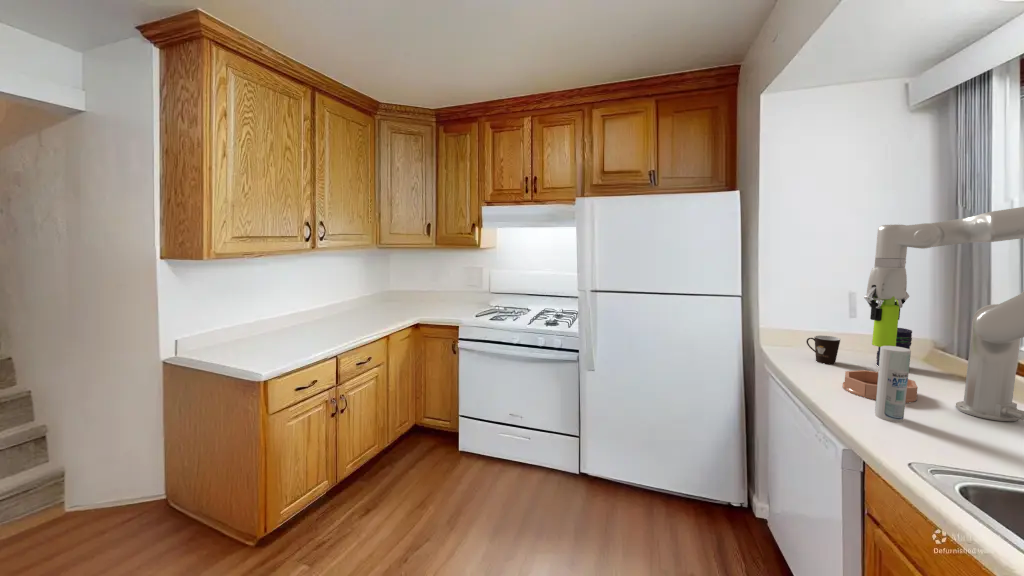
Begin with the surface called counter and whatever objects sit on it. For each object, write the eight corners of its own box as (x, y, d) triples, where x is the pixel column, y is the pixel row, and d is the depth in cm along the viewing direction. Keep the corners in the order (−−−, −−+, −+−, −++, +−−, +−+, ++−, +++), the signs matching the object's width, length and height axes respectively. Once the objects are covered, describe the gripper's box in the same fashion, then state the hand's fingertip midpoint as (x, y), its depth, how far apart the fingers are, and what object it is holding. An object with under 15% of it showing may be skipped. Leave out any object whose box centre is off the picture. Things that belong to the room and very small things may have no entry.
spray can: (890, 412, 131) (896, 345, 129) (910, 421, 125) (917, 351, 123) (868, 413, 131) (874, 345, 129) (887, 422, 125) (894, 351, 122)
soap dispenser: (884, 343, 149) (890, 282, 147) (900, 348, 142) (906, 285, 140) (865, 342, 150) (871, 282, 148) (880, 347, 143) (886, 284, 141)
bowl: (933, 400, 140) (935, 386, 140) (880, 404, 137) (881, 390, 137) (876, 381, 159) (877, 368, 158) (828, 384, 156) (829, 371, 155)
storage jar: (870, 365, 178) (873, 328, 176) (884, 362, 182) (887, 325, 180) (900, 372, 169) (904, 333, 167) (914, 368, 173) (918, 330, 171)
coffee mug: (843, 365, 178) (845, 340, 177) (821, 365, 178) (823, 340, 177) (824, 357, 190) (825, 333, 189) (803, 357, 190) (805, 333, 189)
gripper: (901, 262, 148) (896, 316, 150) (855, 263, 146) (850, 318, 148) (925, 264, 141) (919, 321, 143) (877, 265, 138) (872, 323, 140)
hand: (884, 319), depth 145 cm, fingers closed on soap dispenser, 5 cm apart
